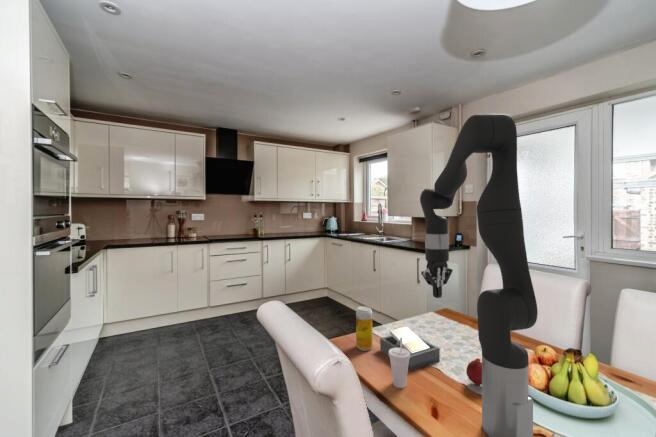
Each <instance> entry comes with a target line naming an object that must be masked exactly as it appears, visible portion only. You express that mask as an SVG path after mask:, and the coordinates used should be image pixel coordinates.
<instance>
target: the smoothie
mask: <svg viewBox="0 0 656 437" xmlns="http://www.w3.org/2000/svg"><path fill="white" fill-rule="evenodd" d="M388 355H389V356H388ZM388 355H387V356H388V357H389V361H390V362H389V363H390V368H391V369H390V370H391V375H392V376H391V378H392V383H393V386H394V387H395V388H397V389H398V388H399V389H403V388H406V387H407V379H408V371H409V370H408V365H409V359H410V352H409V351H408V350H406V349H404V348H402V338H400V348H392V349H390V350H389V354H388Z"/></svg>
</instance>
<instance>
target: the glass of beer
mask: <svg viewBox="0 0 656 437" xmlns="http://www.w3.org/2000/svg"><path fill="white" fill-rule="evenodd" d="M355 325H356V326H355V327H356V328H355V331H356V333H355V334H356V335H355V337H356V339H355V340H356V341H355V342H356V347H357V349H358V350H359V351H363V352H367V351H370V350H371V349H372V348H373V340H374V339H373V311H372V308H371V307H370V306H365V305H364V306H361V305H360V306H358V307H357V308H356V310H355Z"/></svg>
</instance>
